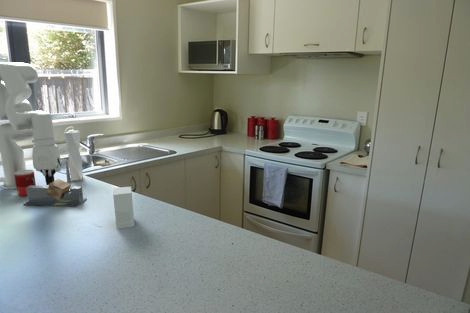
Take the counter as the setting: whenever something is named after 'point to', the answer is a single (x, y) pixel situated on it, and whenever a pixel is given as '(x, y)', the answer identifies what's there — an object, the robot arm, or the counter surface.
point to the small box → (123, 207)
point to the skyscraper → (73, 156)
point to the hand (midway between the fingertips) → (50, 184)
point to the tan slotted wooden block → (57, 188)
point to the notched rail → (40, 198)
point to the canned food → (24, 181)
